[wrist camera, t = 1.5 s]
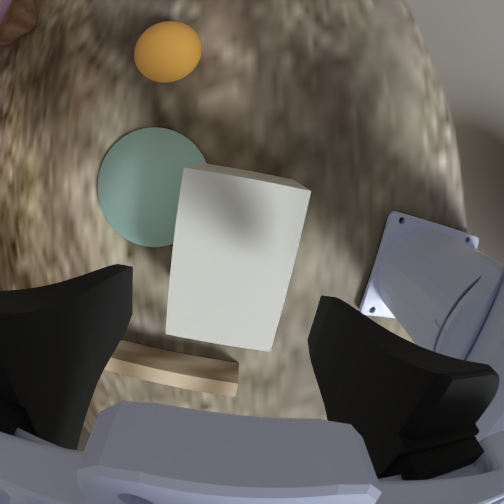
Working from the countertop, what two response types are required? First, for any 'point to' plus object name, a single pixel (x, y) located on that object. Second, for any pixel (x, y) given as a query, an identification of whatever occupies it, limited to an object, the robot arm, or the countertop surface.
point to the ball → (167, 51)
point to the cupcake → (16, 19)
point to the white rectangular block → (233, 254)
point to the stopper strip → (175, 368)
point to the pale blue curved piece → (145, 184)
